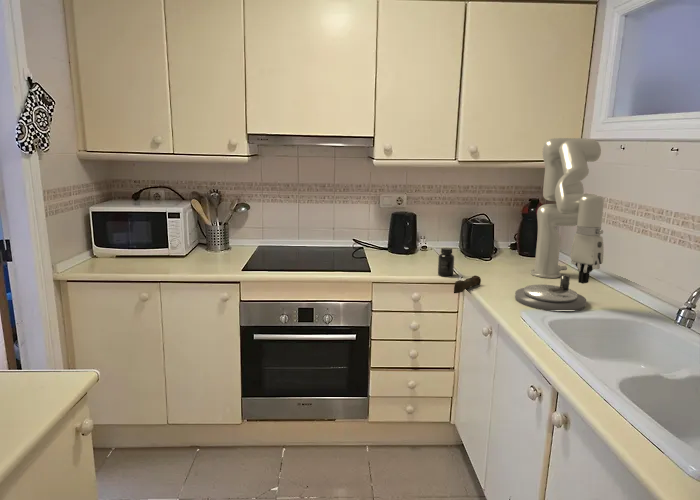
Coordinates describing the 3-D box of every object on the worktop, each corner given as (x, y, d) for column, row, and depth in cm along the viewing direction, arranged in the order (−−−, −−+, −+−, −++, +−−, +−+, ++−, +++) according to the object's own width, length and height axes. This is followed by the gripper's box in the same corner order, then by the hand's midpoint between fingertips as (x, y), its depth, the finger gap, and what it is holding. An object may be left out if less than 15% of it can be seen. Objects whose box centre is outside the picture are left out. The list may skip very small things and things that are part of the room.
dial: (551, 305, 162) (553, 286, 161) (513, 291, 178) (514, 274, 177) (588, 298, 170) (590, 281, 168) (548, 286, 186) (550, 270, 184)
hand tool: (472, 283, 198) (472, 272, 197) (480, 285, 195) (481, 274, 194) (447, 293, 184) (448, 281, 183) (456, 295, 182) (457, 283, 181)
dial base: (555, 290, 189) (556, 284, 188) (601, 308, 166) (602, 302, 166) (502, 294, 183) (502, 288, 182) (542, 314, 160) (542, 307, 159)
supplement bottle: (456, 275, 210) (458, 249, 207) (445, 277, 206) (446, 250, 204) (445, 272, 215) (447, 246, 213) (434, 274, 212) (435, 248, 209)
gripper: (615, 233, 160) (609, 286, 163) (577, 228, 173) (573, 277, 177) (600, 235, 157) (594, 288, 160) (563, 229, 170) (558, 279, 173)
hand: (583, 282), depth 168 cm, fingers closed
